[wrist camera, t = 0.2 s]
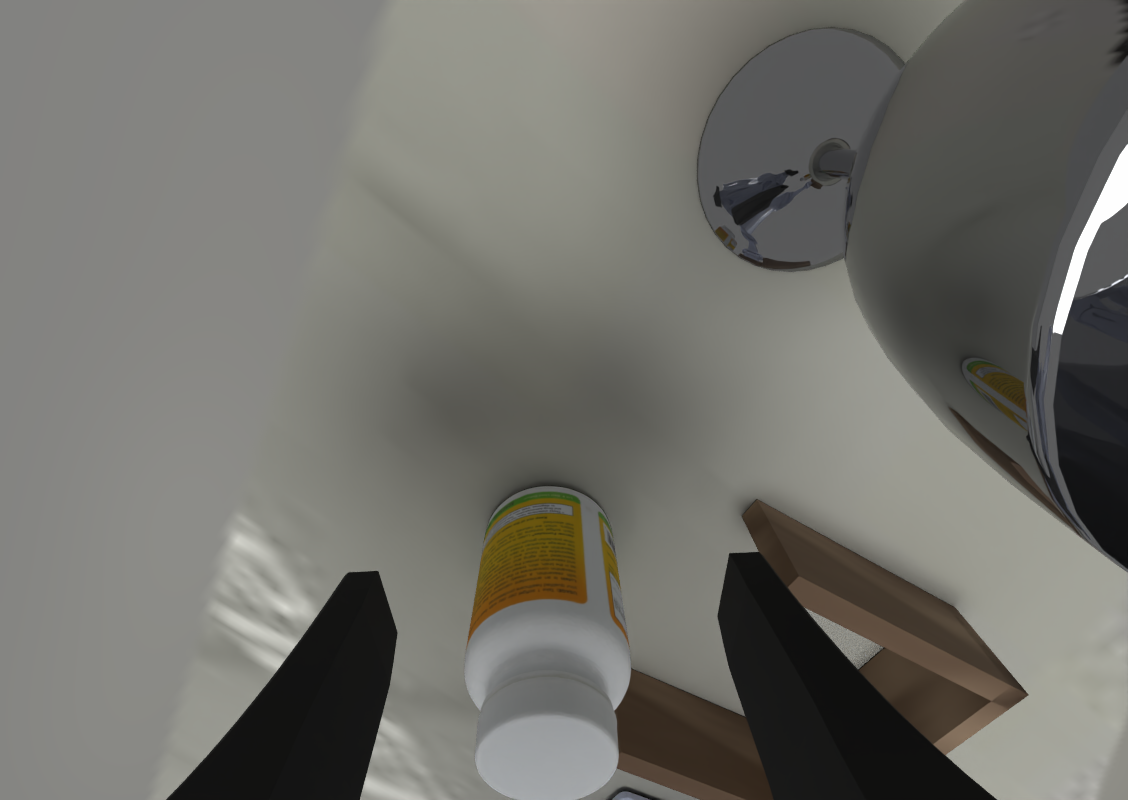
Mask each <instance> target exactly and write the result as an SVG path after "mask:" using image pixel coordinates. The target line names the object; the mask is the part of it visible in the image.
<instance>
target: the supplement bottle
mask: <svg viewBox="0 0 1128 800" xmlns="http://www.w3.org/2000/svg"><path fill="white" fill-rule="evenodd" d="M464 674H465V682H466V686H467V689H468V692H469V694H470V697H471V698H472V700H473V702H474V703H475V705H476V706H477V707H478V709H479V710H480V711H481V712H480V715H479V719H478V727H477V738H476V748H475V763H476V767H477V770H478V772H479V774H480V776H481V777H482V779H483V780H484V781H485V782H486V783H487V784H488V785H489V786H490V787H491V788H493V789H494V790H496V791H497V792H499V793H501V794H503V795H505V796H507V797H510V798H513V799H516V800H577V799H580V798H582V797H585V796H587V795H589V794H592V793H593V792H595V791H597V790H598V789H600V788H601V787H603V786H604V785H605V784H606V783H607V782H608V781H609V780H610V779H611V777H612V776H613V774H614V772H615V770H616V768H617V764H618V758H619V750H618V737H617V719H616V714H615V712H614V710H615V709H616V708H617V707H618V706H619V704H620V703H621V701H622V699H623V697H624V695H625V693H626V691H627V689H628V686H629V682H630V677H631V659H630V648H629V642H628V635H627V628H626V622H625V615H624V608H623V600H622V594H621V588H620V580H619V574H618V567H617V560H616V554H615V546H614V540H613V535H612V530H611V526H610V523H609V521H608V519H607V516H606V515H605V513H604V512H603V510H602V509H601V508H600V507H599V506H598V505H597V504H596V503H595V502H594V501H593V500H592V499H590V498H589V497H587V496H585V495H584V494H582V493H579V492H577V491H574V490H571V489H568V488H563V487H556V486H542V487H534V488H530V489H526V490H523V491H521V492H518V493H516V494H515V495H513V496H511V497H510V498H508V499H507V500H506V501H504V502H503V503H502V504H501V505H500V506H499V507H498V508H497V509H496V511H495V512H494V513H493V515H492V517H491V519H490V521H489V523H488V526H487V529H486V534H485V538H484V544H483V550H482V557H481V563H480V569H479V576H478V582H477V588H476V594H475V600H474V606H473V612H472V618H471V624H470V630H469V636H468V642H467V648H466V655H465V665H464Z"/></svg>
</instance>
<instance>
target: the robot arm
mask: <svg viewBox="0 0 1128 800" xmlns="http://www.w3.org/2000/svg"><path fill="white" fill-rule="evenodd" d="M718 621H719V625H720V630H721V635H722V639H723V644H724V648H725V652H726V657H727V661H728V665H729V669H730V672H731V675H732V678H733V681H734V684H735V687H736V689H737V692H738V695H739V698H740V701H741V704H742V707H743V710H744V713H745V716H746V719H747V722H748V725H749V727H750V730H751V733H752V736H753V739H754V742H755V745H756V748H757V751H758V754H759V757H760V759H761V762H762V765H763V768H764V771H765V774H766V777H767V780H768V783H769V786H770V789H771V793H772V796H773V799H774V800H997V799H996V798H994V797H993V796H992V795H991V794H990V793H988V792H987V791H986V790H985V789H984V788H982V787H981V786H980V785H979V784H977V783H976V782H975V781H974V780H973V779H971V778H970V777H969V776H968V775H967V774H966V773H964V772H963V771H962V770H961V769H960V768H959V767H958V766H957V765H955V764H954V763H953V762H952V761H951V760H950V759H949V758H948V757H947V756H945V755H944V754H943V753H942V752H941V751H940V750H939V749H938V748H937V747H935V746H934V745H933V744H932V743H931V742H930V741H929V740H928V739H927V738H926V737H925V736H924V735H923V734H922V733H920V732H919V731H918V730H917V729H916V728H915V727H914V726H913V725H912V724H911V723H910V722H909V721H908V720H907V719H906V718H905V717H904V716H903V715H902V714H901V713H900V712H899V711H898V710H897V709H896V708H894V707H893V706H892V704H891V703H890V702H889V701H888V700H887V699H886V698H885V697H884V696H883V695H882V694H881V693H880V692H879V691H878V690H877V689H876V688H875V687H874V686H873V685H872V684H871V683H870V682H869V681H868V680H867V679H866V678H865V677H864V675H863V674H862V673H861V672H860V671H859V670H858V669H857V668H856V667H855V666H854V665H853V664H852V663H851V661H850V660H849V659H848V658H847V657H846V656H845V655H844V654H843V653H842V652H841V650H840V649H839V648H838V647H837V646H836V645H835V643H834V642H833V641H832V640H831V639H830V638H829V637H828V635H827V634H826V633H825V632H824V631H823V630H822V629H821V627H820V626H819V625H818V624H817V623H816V622H815V620H814V619H813V618H812V617H811V616H810V614H809V613H808V612H807V611H806V610H805V608H804V607H803V606H802V605H801V603H800V602H799V601H798V600H797V598H796V597H795V596H794V595H793V594H792V592H791V591H790V590H789V588H788V587H787V586H786V585H785V583H784V582H783V581H782V580H781V578H780V577H779V576H778V574H777V573H776V572H775V571H774V569H773V568H772V567H771V565H770V564H769V563H768V561H767V560H766V559H765V558H764V556H763V555H762V554H761V553H760V552H748V553H729V558H728V563H727V569H726V574H725V579H724V584H723V590H722V595H721V600H720V605H719V611H718ZM396 640H397V629H396V626H395V623H394V620H393V617H392V613H391V610H390V607H389V604H388V601H387V597H386V594H385V591H384V588H383V585H382V581H381V578H380V575H379V572H378V571H368V572H349V573H347V574H346V575H345V576H344V578H343V579H342V580H341V582H340V583H339V585H338V586H337V588H336V589H335V591H334V592H333V594H332V595H331V597H330V598H329V600H328V601H327V603H326V604H325V605H324V607H323V608H322V610H321V611H320V613H319V614H318V616H317V617H316V618H315V620H314V621H313V623H312V624H311V626H310V627H309V628H308V630H307V631H306V633H305V634H304V635H303V637H302V638H301V640H300V641H299V642H298V644H297V645H296V646H295V648H294V649H293V650H292V652H291V653H290V654H289V656H288V657H287V658H286V660H285V661H284V662H283V664H282V665H281V666H280V668H279V669H278V670H277V672H276V673H275V674H274V676H273V677H272V678H271V680H270V681H269V682H268V683H267V685H266V686H265V687H264V688H263V690H262V691H261V692H260V693H259V695H258V696H257V697H256V698H255V700H254V701H253V702H252V703H251V705H250V706H249V707H248V708H247V709H246V711H245V712H244V713H243V714H242V716H241V717H240V718H239V719H238V721H237V722H236V723H235V724H234V725H233V727H232V728H231V729H230V730H229V731H228V732H227V734H226V735H225V736H224V737H223V738H222V739H221V741H220V742H219V743H218V744H217V745H216V746H215V747H214V749H213V750H212V751H211V752H210V753H209V754H208V755H207V757H206V758H205V759H204V760H203V761H202V762H201V763H200V764H199V765H198V766H197V767H196V769H195V770H194V771H193V772H192V773H191V774H190V775H189V776H188V777H187V778H186V780H185V781H184V782H183V783H182V784H181V785H180V786H179V787H178V788H177V789H176V790H175V791H174V792H173V793H172V794H171V795H170V796H169V797H168V798H167V799H166V800H360V796H361V793H362V789H363V785H364V781H365V777H366V774H367V770H368V766H369V762H370V759H371V755H372V751H373V747H374V744H375V740H376V736H377V732H378V728H379V725H380V721H381V717H382V713H383V709H384V705H385V701H386V698H387V694H388V690H389V686H390V680H391V674H392V668H393V661H394V654H395V647H396ZM612 800H650V799H647V798H644V797H642V796H639V795H636V794H633V793H631V792H627V791H625V792H620V793H619V794H618V795H616V796H615V797H614V798H613V799H612Z"/></svg>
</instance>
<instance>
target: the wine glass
mask: <svg viewBox="0 0 1128 800" xmlns="http://www.w3.org/2000/svg"><path fill="white" fill-rule="evenodd" d="M697 184H698V190H699V197H700V202H701V205H702V207H703V210H704V213H705V216H706V219H707V221H708V222H709V224H710V226H711V228H712V229H713V231H714V233H715V235H716V236H717V237H718V238H719V239H720V240H721V242H722V243H723V244H724V245H725V246H726V247H727V248H728V249H729V250H730V251H732V252H733V253H734V254H736V255H737V256H738V257H739V258H741V259H743V260H745V261H747V262H749V263H751V264H753V265H755V266H758V267H761V268H765V269H769V270H772V271H784V272H796V271H807V270H811V269H815V268H819V267H823V266H826V265H829V264H831V263H833V262H836V261H838V260H840V259H843V258H844V260H845V264H846V268H847V272H848V276H849V280H850V284H851V287H852V291H853V294H854V298H855V301H856V303H857V305H858V307H859V309H860V311H861V313H862V315H863V317H864V319H865V321H866V324H867V326H868V328H869V329H870V331H871V333H872V334H873V336H874V337H875V339H876V340H877V342H878V344H879V345H880V347H881V348H882V350H883V352H884V353H885V355H886V356H887V358H888V359H889V361H890V362H891V363H892V364H893V366H894V367H895V368H896V369H897V371H898V372H899V373H900V374H901V376H902V377H903V378H904V379H905V381H906V382H907V383H908V384H909V386H910V387H911V388H912V389H913V390H914V391H915V392H916V394H917V395H918V396H919V397H920V398H921V399H922V400H923V402H924V403H925V404H926V405H927V406H928V407H929V408H930V410H931V411H932V412H933V413H934V414H935V415H936V417H937V418H938V419H939V420H940V421H941V422H942V423H943V425H944V426H945V427H946V428H947V429H948V430H949V431H950V432H951V433H952V434H954V435H955V436H956V437H957V438H958V439H959V440H961V441H962V442H963V443H964V444H965V445H966V446H967V447H969V448H970V449H971V450H972V451H973V452H974V453H975V454H977V455H978V456H979V457H980V458H981V459H982V460H984V461H985V462H986V463H987V464H988V465H989V466H990V467H992V468H993V469H994V470H995V471H996V472H997V473H999V474H1000V475H1001V476H1002V477H1003V478H1004V479H1005V480H1007V481H1008V482H1009V483H1010V484H1011V485H1013V486H1014V487H1015V488H1017V489H1018V490H1019V491H1020V492H1022V493H1023V494H1024V495H1026V496H1027V497H1028V498H1029V499H1031V500H1032V501H1033V502H1035V503H1036V504H1037V505H1038V506H1040V507H1041V508H1042V509H1044V510H1045V511H1046V512H1048V513H1049V514H1050V515H1052V516H1053V517H1054V518H1055V519H1057V520H1058V521H1059V522H1061V523H1062V524H1063V525H1065V526H1066V527H1067V528H1069V529H1070V530H1071V531H1073V532H1074V533H1075V534H1076V535H1078V536H1079V537H1080V538H1082V539H1083V540H1084V541H1086V542H1087V543H1088V544H1090V545H1091V546H1092V547H1094V548H1095V549H1096V550H1097V551H1099V552H1100V553H1101V554H1103V555H1104V556H1105V557H1107V558H1108V559H1109V560H1111V561H1112V562H1113V563H1115V564H1116V565H1118V566H1119V567H1121V568H1122V569H1124V570H1125V571H1127V572H1128V0H965V1H963V2H962V3H961V4H960V5H959V6H958V7H957V8H956V9H955V10H954V11H953V12H952V13H950V14H949V15H948V16H947V17H946V18H945V19H944V20H943V21H942V22H941V23H940V24H939V25H938V27H937V28H936V29H935V30H934V31H933V32H932V33H931V34H930V35H929V36H928V37H927V38H926V40H925V41H924V42H923V43H922V44H921V46H920V47H919V48H918V49H917V50H916V52H915V53H914V54H913V55H912V57H911V58H910V59H909V60H908V61H907V63H906V64H905V63H904V62H903V60H902V59H901V58H900V57H899V56H898V55H897V54H896V53H895V52H894V51H893V50H892V49H891V48H890V47H889V46H887V45H886V44H884V43H882V42H881V41H879V40H878V39H876V38H874V37H873V36H871V35H868V34H865V33H862V32H859V31H856V30H853V29H846V28H837V27H827V28H816V29H809V30H806V31H802V32H799V33H796V34H792V35H789V36H787V37H785V38H783V39H781V40H779V41H777V42H775V43H773V44H771V45H769V46H768V47H766V48H765V49H764V50H762V51H761V52H760V53H758V54H757V55H756V56H754V57H753V58H752V59H750V60H749V61H748V62H747V63H746V64H745V65H744V66H743V67H742V68H741V69H740V70H739V71H738V72H737V73H736V74H735V75H734V76H733V77H732V79H731V80H730V82H729V83H728V84H727V86H726V87H725V89H724V90H723V91H722V93H721V94H720V95H719V97H718V99H717V101H716V103H715V105H714V107H713V109H712V111H711V113H710V115H709V117H708V119H707V122H706V125H705V128H704V131H703V134H702V137H701V142H700V148H699V153H698V159H697Z"/></svg>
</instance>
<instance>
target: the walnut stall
mask: <svg viewBox="0 0 1128 800" xmlns="http://www.w3.org/2000/svg"><path fill="white" fill-rule="evenodd" d="M742 518H743V520H744V522H745V524H746V526H747V528H748V530H749V532H750V534H751V536H752V538H753V540H754V543H755V545H756V547H757V549H758V551H759V552H760V553H761V554H762V555H763V556H764V558H765V559H766V560H767V561H768V563H769V564H770V565H771V567H772V568H773V569H774V571H775V572H776V573H777V574H778V576H779V577H780V578H781V580H782V581H783V582H784V583H785V585H786V586H787V587H788V588H789V590H790V591H791V592H792V594H793V595H794V596H795V597H796V598H797V600H798V601H799V602H800V603H801V605H802V606H803V607H805V608H807V609H809V610H811V611H813V612H815V613H817V614H819V615H821V616H823V617H825V618H827V619H829V620H831V621H833V622H835V623H837V624H839V625H841V626H843V627H845V628H847V629H849V630H851V631H853V632H855V633H857V634H859V635H861V636H863V637H865V638H867V639H869V640H871V641H873V642H875V643H877V644H879V645H881V646H883V647H885V648H884V649H883V650H882V651H881V652H879V653H878V654H877V655H876V656H875V657H873V658H872V659H871V660H870V661H869V662H868V663H866V664H865V665H864V666H863V667H862V668H861V669H859V671H860V672H861V673H862V674H863V675H864V677H865V678H866V679H867V680H868V681H869V682H870V683H871V684H872V685H873V686H874V687H875V688H876V689H877V690H878V691H879V692H880V693H881V694H882V695H883V696H884V697H885V698H886V699H887V700H888V701H889V702H890V703H891V704H892V706H893V707H894V708H896V709H897V710H898V711H899V712H900V713H901V714H902V715H903V716H904V717H905V718H906V719H907V720H908V721H909V722H910V723H911V724H912V725H913V726H914V727H915V728H916V729H917V730H918V731H919V732H920V733H922V734H923V735H924V736H925V737H926V738H927V739H928V740H929V741H930V742H931V743H932V744H933V745H934V746H935V747H937V748H938V749H939V750H940V751H941V752H942V753H943V754H944V755H946V754H947V753H949V752H950V751H952V750H953V749H954V748H956V747H957V746H959V745H960V744H961V743H963V742H964V741H965V740H967V739H968V738H970V737H971V736H972V735H974V734H975V733H977V732H978V731H979V730H981V729H982V728H984V727H985V726H986V725H988V724H989V723H990V722H992V721H993V720H995V719H996V718H997V717H999V716H1000V715H1002V714H1003V713H1004V712H1006V711H1007V710H1008V709H1010V708H1011V707H1013V706H1014V705H1015V704H1017V703H1018V702H1020V701H1021V700H1022V699H1024V698H1025V697H1027V696H1028V694H1027V692H1026V691H1025V690H1024V689H1023V688H1022V686H1021V685H1020V684H1019V683H1018V682H1017V680H1016V679H1015V678H1014V677H1013V676H1012V674H1011V673H1010V672H1009V671H1008V670H1007V669H1006V667H1005V666H1004V665H1003V664H1002V663H1001V661H1000V660H999V659H998V658H997V657H996V655H995V654H994V653H993V652H992V651H991V650H990V648H989V647H988V646H987V645H986V644H985V642H984V641H983V640H982V639H981V638H980V636H979V635H978V634H977V633H976V632H975V630H974V629H973V628H972V627H971V626H970V625H969V623H968V622H967V621H966V620H965V619H964V617H963V616H962V615H961V614H960V613H959V611H958V610H957V609H956V608H955V607H953V606H951V605H949V604H947V603H945V602H944V601H942V600H940V599H938V598H936V597H934V596H933V595H931V594H929V593H927V592H925V591H923V590H922V589H920V588H918V587H916V586H914V585H912V584H911V583H909V582H907V581H905V580H903V579H901V578H900V577H898V576H896V575H894V574H892V573H891V572H889V571H887V570H885V569H883V568H881V567H880V566H878V565H876V564H874V563H872V562H870V561H869V560H867V559H865V558H863V557H861V556H859V555H858V554H856V553H854V552H852V551H850V550H848V549H847V548H845V547H843V546H841V545H839V544H837V543H836V542H834V541H832V540H830V539H828V538H827V537H825V536H823V535H821V534H819V533H817V532H816V531H814V530H812V529H810V528H808V527H806V526H805V525H803V524H801V523H799V522H797V521H795V520H794V519H792V518H790V517H788V516H786V515H784V514H783V513H781V512H779V511H777V510H775V509H774V508H772V507H770V506H768V505H766V504H764V503H763V502H761V501H759V500H756V501H755V502H754V503H753V504H752V505H751V507H750V508H749V509H748V510H747V511H746V512H745V513H744V514H743V515H742ZM614 712H615V714H616V719H617V737H618V750H619V758H618V764H617V769H620V770H623V771H625V772H628V773H631V774H633V775H636V776H639V777H641V778H644V779H647V780H649V781H652V782H655V783H657V784H660V785H663V786H665V787H668V788H671V789H673V790H676V791H679V792H681V793H684V794H687V795H689V796H692V797H695V798H697V799H700V800H774V799H773V796H772V793H771V789H770V786H769V783H768V780H767V777H766V774H765V771H764V768H763V765H762V762H761V759H760V757H759V754H758V751H757V748H756V745H755V742H754V739H753V736H752V733H751V730H750V727H749V725H748V722H747V719H746V718H745V717H743V716H741V715H738V714H736V713H734V712H731V711H729V710H727V709H724V708H722V707H720V706H717V705H715V704H712V703H710V702H708V701H705V700H703V699H701V698H698V697H696V696H694V695H691V694H689V693H687V692H684V691H682V690H680V689H677V688H675V687H673V686H670V685H668V684H666V683H663V682H661V681H659V680H656V679H654V678H652V677H649V676H647V675H645V674H642V673H640V672H637V671H635V670H633V669H631V677H630V682H629V686H628V689H627V691H626V693H625V695H624V697H623V699H622V701H621V703H620V704H619V706H618V707H617V708H616V709H615V710H614Z"/></svg>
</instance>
